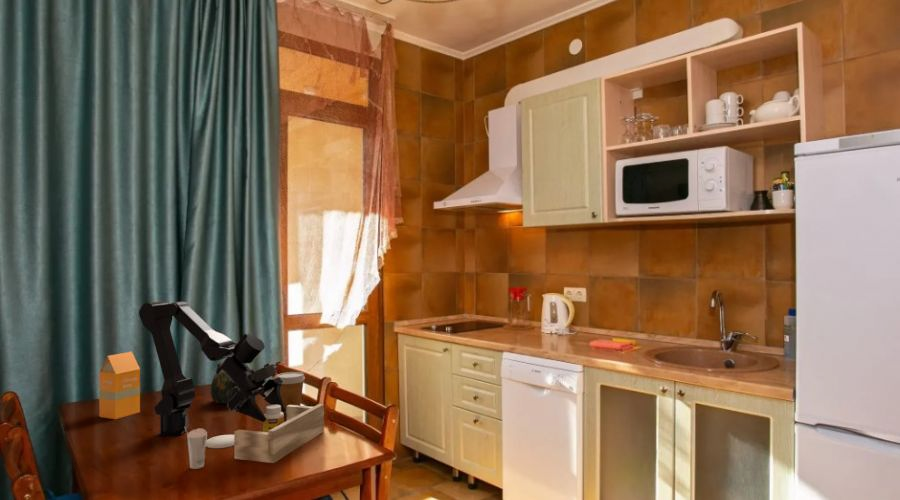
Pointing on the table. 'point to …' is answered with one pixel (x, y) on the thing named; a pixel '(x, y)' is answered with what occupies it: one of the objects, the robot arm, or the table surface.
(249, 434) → the wooden u-shaped barrier
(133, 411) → the orange juice
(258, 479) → the table surface
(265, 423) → the supplement bottle
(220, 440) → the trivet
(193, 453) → the milkshake
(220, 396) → the squash
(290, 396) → the disposable coffee cup
